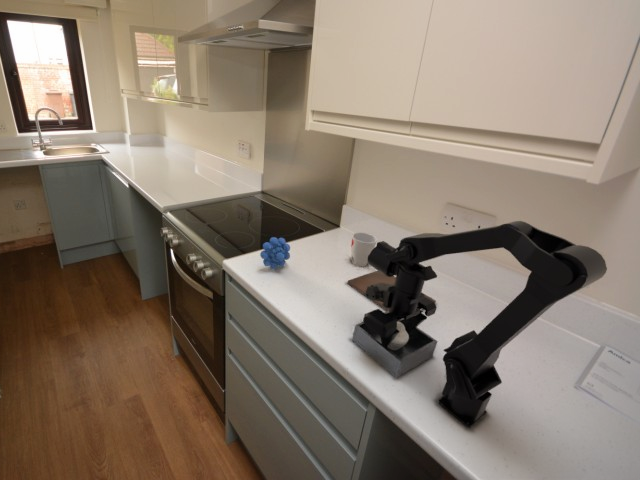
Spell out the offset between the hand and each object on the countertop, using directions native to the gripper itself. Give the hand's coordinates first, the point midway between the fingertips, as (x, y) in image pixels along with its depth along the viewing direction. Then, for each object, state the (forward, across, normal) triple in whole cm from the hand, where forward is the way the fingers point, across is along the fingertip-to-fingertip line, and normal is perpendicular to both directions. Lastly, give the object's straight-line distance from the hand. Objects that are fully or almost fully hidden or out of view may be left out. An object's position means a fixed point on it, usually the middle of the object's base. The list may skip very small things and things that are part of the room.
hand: (393, 341), depth 82 cm
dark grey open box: (+2, 0, 0) cm, 2 cm away
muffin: (+2, 0, 0) cm, 2 cm away
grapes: (+2, +5, -43) cm, 43 cm away
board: (+2, -19, -16) cm, 25 cm away
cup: (+2, -25, -34) cm, 42 cm away
